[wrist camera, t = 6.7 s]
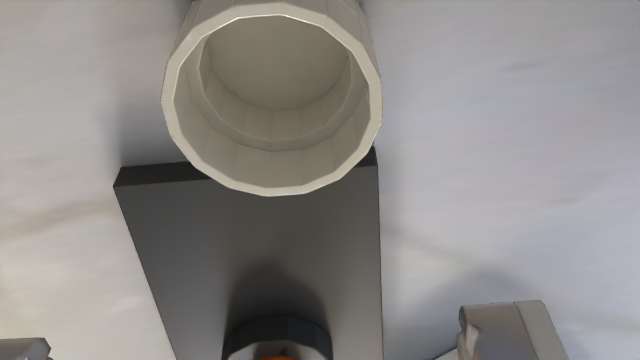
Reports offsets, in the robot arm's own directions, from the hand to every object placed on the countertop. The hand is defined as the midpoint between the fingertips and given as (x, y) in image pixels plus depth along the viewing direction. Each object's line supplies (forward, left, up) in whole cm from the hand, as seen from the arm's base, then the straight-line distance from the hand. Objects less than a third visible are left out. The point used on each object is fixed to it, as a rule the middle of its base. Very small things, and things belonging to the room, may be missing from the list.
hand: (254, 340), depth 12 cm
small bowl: (0, 0, -14) cm, 14 cm away
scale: (+12, -2, -14) cm, 18 cm away
